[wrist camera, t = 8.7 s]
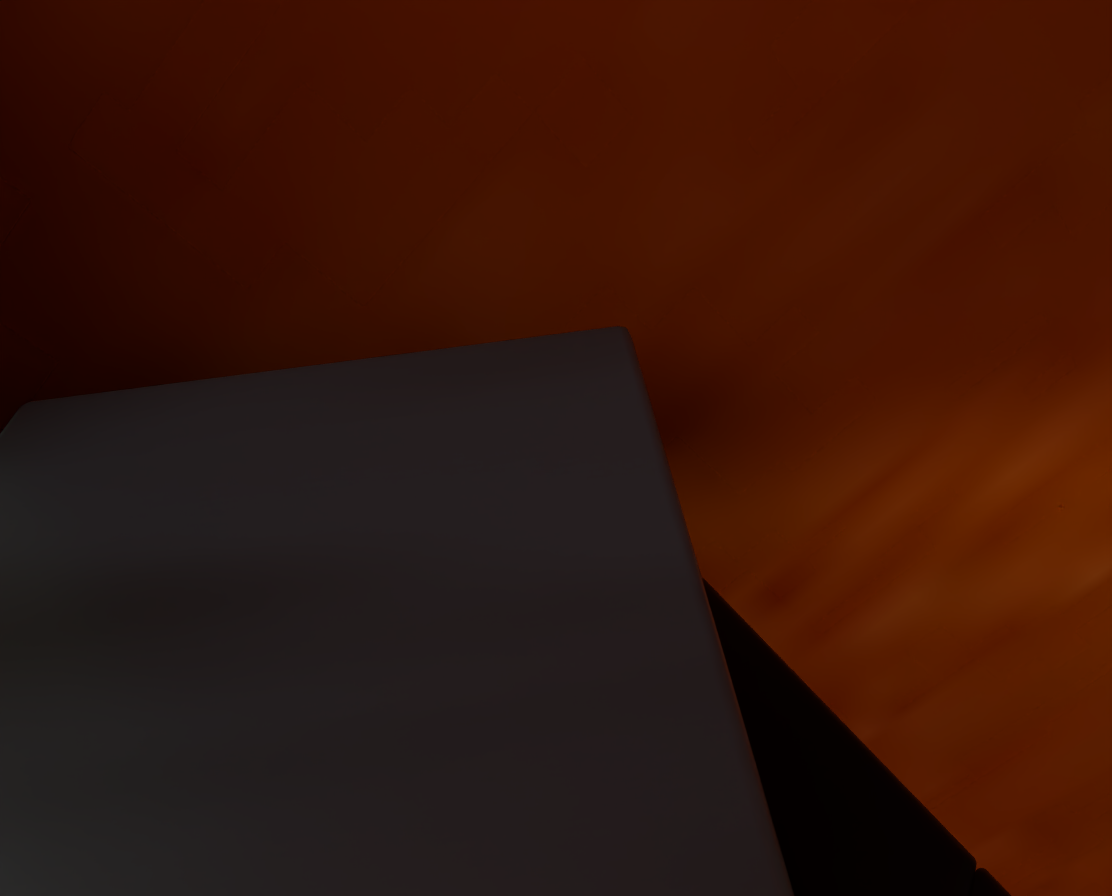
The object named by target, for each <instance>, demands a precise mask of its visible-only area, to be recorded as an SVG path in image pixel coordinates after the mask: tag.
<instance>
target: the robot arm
mask: <svg viewBox="0 0 1112 896" xmlns="http://www.w3.org/2000/svg"><path fill="white" fill-rule="evenodd" d="M702 581H703V584H704V587H705V591H706V594H707V598H708V601H709V605H710V608H711V611H712V615H713V618H714V622H715V625H716V629H717V632H718V635H719V639H720V642H721V646H722V649H723V653H724V656H725V659H726V663H727V666H728V670H729V673H730V677H731V680H732V683H733V687H734V690H735V694H736V697H737V701H738V704H739V707H740V711H741V714H742V718H743V721H744V725H745V728H746V731H747V735H748V738H749V742H750V745H751V749H752V752H753V755H754V759H755V762H756V766H757V769H758V773H759V776H760V779H761V783H762V786H763V790H764V793H765V797H766V800H767V803H768V807H769V810H770V814H771V817H772V821H773V824H774V828H775V831H776V834H777V838H778V841H779V845H780V848H781V852H782V855H783V858H784V862H785V865H786V869H787V872H788V876H789V879H790V882H791V886H792V889H793V893H794V896H1011V895H1010V894H1009V893H1008V892H1007V891H1006V890H1005V889H1004V888H1003V887H1002V886H1001V884H1000V883H999V882H998V881H997V880H996V879H995V878H994V877H993V876H992V875H991V874H990V873H989V872H988V871H987V870H986V869H984V868H978V869H977V870H976V860H975V858H974V857H973V856H972V855H971V854H970V853H969V852H968V851H967V850H966V849H965V848H964V847H963V846H962V845H961V844H960V843H959V842H958V841H957V840H956V839H955V837H954V836H953V835H952V834H951V833H950V832H949V831H948V830H947V829H946V828H945V827H944V826H943V825H942V824H941V823H940V822H939V821H938V820H937V819H936V818H935V817H934V816H933V815H932V814H931V813H930V812H929V811H928V810H927V809H926V808H925V807H924V806H923V804H922V803H921V802H920V801H919V800H918V799H917V798H916V797H915V796H914V795H913V794H912V793H911V792H910V791H909V790H908V789H907V788H906V787H905V786H904V785H903V784H902V783H901V782H900V781H899V780H898V779H897V778H896V777H895V776H894V775H893V774H892V772H891V771H890V770H889V769H888V768H887V767H886V766H885V765H884V764H883V763H882V762H881V761H880V760H879V759H878V758H877V757H876V756H875V755H874V754H873V753H872V752H871V751H870V750H869V749H868V748H867V747H866V746H865V745H864V744H863V743H862V742H861V740H860V739H859V738H858V737H857V736H856V735H855V734H854V733H853V732H852V731H851V730H850V729H849V728H848V727H847V726H846V725H845V724H844V723H843V722H842V721H841V720H840V719H839V718H838V717H837V716H836V715H835V714H834V713H833V712H832V711H831V710H830V708H829V707H828V706H827V705H826V704H825V703H824V702H823V701H822V700H821V699H820V698H819V697H818V696H817V695H816V694H815V693H814V692H813V691H812V690H811V689H810V688H809V687H808V686H807V685H806V684H805V683H804V682H803V681H802V680H801V679H800V678H799V676H798V675H797V674H796V673H795V672H794V671H793V670H792V669H791V668H790V667H789V666H788V665H787V664H786V663H785V662H784V661H783V660H782V659H781V658H780V657H779V656H778V655H777V654H776V653H775V652H774V651H773V650H772V649H771V648H770V647H769V646H768V644H767V643H766V642H765V641H764V640H763V639H762V638H761V637H760V636H759V635H758V634H757V633H756V632H755V631H754V630H753V629H752V628H751V627H750V626H749V625H748V624H747V623H746V622H745V621H744V620H743V619H742V618H741V617H740V616H739V615H738V614H737V612H736V611H735V610H734V609H733V608H732V607H731V606H730V605H729V604H728V603H727V602H726V601H725V600H724V599H723V598H722V597H721V596H720V595H719V594H718V593H717V592H716V591H715V590H714V589H713V588H712V587H711V586H710V585H709V584H708V583H707V582H706V581H705V580H704V579H703V578H702ZM975 870H976V871H975Z"/></svg>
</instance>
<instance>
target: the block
mask: <svg viewBox="0 0 1112 896" xmlns="http://www.w3.org/2000/svg"><path fill="white" fill-rule="evenodd" d="M0 896H794V893H793V889H792V886H791V882H790V879H789V876H788V872H787V869H786V865H785V862H784V858H783V855H782V852H781V848H780V845H779V841H778V838H777V834H776V831H775V828H774V824H773V821H772V817H771V814H770V810H769V807H768V803H767V800H766V797H765V793H764V790H763V786H762V783H761V779H760V776H759V773H758V769H757V766H756V762H755V759H754V755H753V752H752V749H751V745H750V742H749V738H748V735H747V731H746V728H745V725H744V721H743V718H742V714H741V711H740V707H739V704H738V701H737V697H736V694H735V690H734V687H733V683H732V680H731V677H730V673H729V670H728V666H727V663H726V659H725V656H724V653H723V649H722V646H721V642H720V639H719V635H718V632H717V629H716V625H715V622H714V618H713V615H712V611H711V608H710V605H709V601H708V598H707V594H706V591H705V587H704V584H703V581H702V577H701V574H700V570H699V567H698V563H697V560H696V557H695V553H694V550H693V546H692V543H691V539H690V536H689V533H688V529H687V526H686V522H685V519H684V515H683V512H682V509H681V505H680V502H679V498H678V495H677V491H676V488H675V485H674V481H673V478H672V474H671V471H670V467H669V464H668V461H667V457H666V454H665V450H664V447H663V443H662V440H661V437H660V433H659V430H658V426H657V423H656V419H655V416H654V413H653V409H652V406H651V402H650V399H649V395H648V392H647V389H646V385H645V382H644V378H643V375H642V371H641V368H640V365H639V361H638V358H637V354H636V351H635V347H634V344H633V341H632V337H631V335H630V333H629V331H628V329H627V328H625V327H620V326H615V327H607V328H599V329H592V330H584V331H576V332H568V333H560V334H553V335H545V336H537V337H529V338H522V339H514V340H506V341H498V342H490V343H483V344H475V345H467V346H459V347H451V348H444V349H436V350H428V351H420V352H413V353H405V354H397V355H389V356H381V357H374V358H366V359H358V360H350V361H342V362H335V363H327V364H319V365H311V366H303V367H296V368H288V369H280V370H272V371H265V372H257V373H249V374H241V375H233V376H226V377H218V378H210V379H202V380H194V381H187V382H179V383H171V384H163V385H156V386H148V387H140V388H132V389H124V390H117V391H109V392H101V393H93V394H85V395H78V396H70V397H62V398H54V399H47V400H39V401H31V402H28V403H26V404H24V405H23V406H21V407H20V408H19V409H18V411H17V412H16V413H15V415H14V416H13V417H12V419H11V420H10V421H9V423H8V424H7V425H6V427H5V428H4V429H3V431H2V432H1V433H0Z"/></svg>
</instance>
